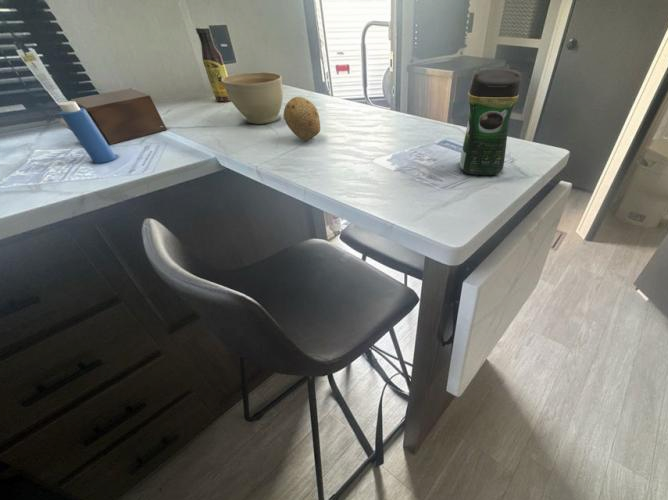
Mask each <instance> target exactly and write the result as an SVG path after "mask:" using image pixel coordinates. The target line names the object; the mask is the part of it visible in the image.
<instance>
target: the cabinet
mask: <svg viewBox="0 0 668 500" xmlns="http://www.w3.org/2000/svg"><path fill="white" fill-rule="evenodd" d="M70 101H75V102H76V103H77V105H78V106H79V107H81V108H84V109H86V110H88V111H89V112H90V114H91V116H92V117H93V119H94V120H95V122H96V123H97V125H98V127H99V128H100V130H101V131H102V133H103V134H104V136H105V137H106V139H107V141H106V142H107V144H108V145H114V144H117V143H123V142H125V141H129V140H134V139H137V138H141V137H144V136H149V135H152V134H156V133H160V132H164V131H167V127H166V124H165V123H164V121H163V119H162V117H161V115H160V113H159V111H158V109H157V107H156V105H155V103H154V101H153V99H152V97H151V94H148V93H144V92H142V91H139V90H136V89H133V88H126V89H119V90H114V91H109V92H104V93H98V94H94V95H93V94H92V95H87V96H82V97H75V98H70ZM160 126H163V127H160Z"/></svg>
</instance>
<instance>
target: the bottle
mask: <svg viewBox="0 0 668 500" xmlns="http://www.w3.org/2000/svg"><path fill="white" fill-rule="evenodd" d="M58 106H59V108H60V109H61V111H59V112H58V114H59V115H60V116H61V119H64V121H65V122H66V123H67V125H68V126H69V128H70V129H71V130H72V131H71V130H70V131H71V132H72V134H73V135H74V137H75V138H76V139H77V140H78V142H79V144H80V145H81V146H82V148H83V149H84V150H85V151H86V153H87V155H88V156H89V158H90V159H91V161H92V162H93V163H95V164H103V163H108V162H112V161H113V160H115V159H116V158H117V156H116V155H115V153H114V151H113V149H111V147H110V144H109V143H107V142H106V141H105V139H104V138H103V136H102V134H101V133H100V131H99V130H98V128H97V127H96V125H95V124H94V122H93V121H92V119H91V117H90V116H89V114H88V113H87V111H86V110H85V109H84V108H79V106H78V105H77V103H76V102H75V101H71V100H66V101H61V102H59V103H58Z"/></svg>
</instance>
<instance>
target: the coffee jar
mask: <svg viewBox="0 0 668 500" xmlns="http://www.w3.org/2000/svg"><path fill="white" fill-rule="evenodd" d="M520 86H521V74H520V73H519V71H518V70H517V69H508V68H506V69H505V68H485V69H475V70H474V72H473V73H472V77H471V81H470V85H469V89H468V93H467V100H468V105H469V107H468V108H469V109H468V119H467V125H466V130H465V135H464V140H463V143H462V149H461V154H460V159H459V168H460V170H461V171H462V172H464V173H466V174H467V175H480V176H481V175H482V176H483V175H489V176H490V175H498V174H499V173H501V172H502V171H503V169H504V164H505V160H506V159H505V158H506V152H507V151H506V149H507V141H508V133H509V126H510V121H511V116H512V111H513V109H514V106H515V105H516V104H517V101H518V99H519V96H520V89H521V88H520Z"/></svg>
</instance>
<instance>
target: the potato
mask: <svg viewBox="0 0 668 500" xmlns="http://www.w3.org/2000/svg"><path fill="white" fill-rule="evenodd" d="M283 119H284V121H285V123H286V126H287V127H288V128H289V129H290V131H291V132H292V133H293V134H294V135H295V136H296V137H297V138H298V139H299V140H302V141H304V142H309V141H311V140H312V139H313V138H314V137H316V136H318V134H319V133H320V132H321V120H320V114H319V111H318V108H317V107H316V105H315V104H314V103H313V102H312V101H310V100H309V99H307V98H305V97H303V96H295V97H292V98H290V100H289V101H288V102H287V103H286V105H285V107H284V109H283Z"/></svg>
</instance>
